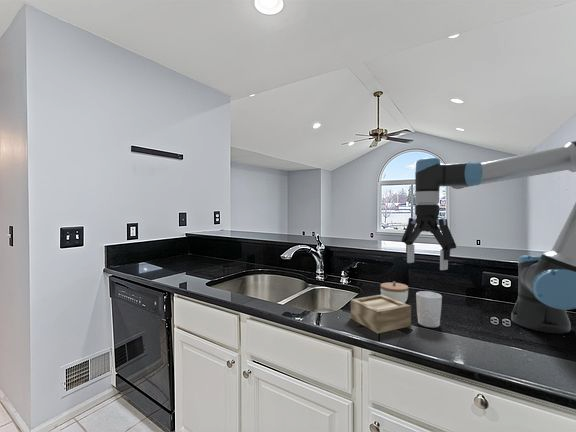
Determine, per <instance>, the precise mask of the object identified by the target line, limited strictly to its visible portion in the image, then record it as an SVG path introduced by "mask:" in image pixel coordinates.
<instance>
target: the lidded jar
mask: <svg viewBox="0 0 576 432" xmlns="http://www.w3.org/2000/svg"><path fill="white" fill-rule="evenodd" d="M379 286H380V295H384V296H387V297H389V298H392V299H395V300H397V301H400V302H402V303H405V304H406V302H407V300H408V299H409V298H408V297H409V286H408V285H407V284H405V283H401V282H396V281H392V282H383V283H380V285H379Z"/></svg>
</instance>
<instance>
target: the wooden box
mask: <svg viewBox="0 0 576 432" xmlns="http://www.w3.org/2000/svg"><path fill="white" fill-rule="evenodd" d="M350 319H351V320H353V321H355V322H357V324H360V325H362V326H364V327H365V328H367V329H369V330H371V331H372V332H375V334H382V333H386V332H389V331H395V330H399V329H403V328H408V327H411V326H412V305H410V304H407V303H406V302H405V303H402V302H400V301H397V300H395V299H392V298H389V297H387V296H384V295H381V294H377V295H369V296H364V297H358V298H351V299H350Z"/></svg>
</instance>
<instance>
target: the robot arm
mask: <svg viewBox="0 0 576 432" xmlns="http://www.w3.org/2000/svg"><path fill="white" fill-rule="evenodd" d="M564 171H569V172H571V173H576V140H575V141H574V140H573V141H569V142H567V143H566V144H565V145H564V146H561V147H556V148H550V149H546V150H540V151H535V152H531V153H524V154H520V155H514V156H510V157H504V158H500V159H495V160H490V161H485V162H480V161H478V162H477V161H474V162H473V161H472V162H471V161H468V162H457V163H456V162H455V163H441V160H440V158H438V157H437V158H436V157H425V158H424V157H423V158H420V159H418V160H417V161H416V162H415V172H414V173H415V175H414V177H415V178H414V179H415V180H414V181H415V182H414V183H415V187H414V188H415V190H414V192H415V194H414V196H415V197H414V203H415V205H414V208H415V209H414V215H415V217H409V218H408V222H407V226H406V228H405V231H404V233H403V235H402V238H401V242H402V243H404V244H405V247H406V248H405V253H406V263H407V264H412V263H415V244H414V242H415V241H416V240H417V238H418V237H419V236H420V234H421V233H422V232H426V233H427V232H430V233H431V234H432V236H434V238H435V240H436V241H437V242H438V244H439V245H440V247H441V249H440V251H439V270H440V271H446V270H449V260H450V259H451V250H453V249H456V248H457V244H456V242H455V240H454V237H453V234H452V233H451V231H450V228H449V225H448V219H447V218H439V215H440V205H439V203H440V187H451V188H452V189H455V190H458V189H459V190H460V189H464V188H468V187H474V186H479V185H485V184H491V183H497V182H503V181H508V180H509V181H510V180H514V179H521V178H526V177H532V176H540V175H544V174H551V173H556V172H557V173H558V172H564ZM517 266H518V275H517V277H518V278H517V279H518V280H517V281H518V283H517V284H518V285H517V286H518V287H517V288H518V289H517V291H518V292H517V300H516V301H515V305H514V307H513V309H512V311H511V322H513V323H514V324H516V325H517V326H521V327H523V328H526V329H530V330H533V331H537V332H541V333H546V334H547V333H549V334H567V333H571V329H572V328H571V327H572V324H571V321H570V318H569V316H568V314H567V310H574V309H576V202H575V203H574V205H573V207H572V209H571V211H570V213H569V215H568V217H567V219H566V221H565V222H564V225H563V226H562V229H561V230H560V232H559V235H558V236H557V238H556V241H555V243H554V244H553V246H552V249H550V250H548V251H546V252H543V253H542V254H541V255H540V256H539V255H520V256H519V258H518V263H517Z"/></svg>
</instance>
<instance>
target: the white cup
mask: <svg viewBox="0 0 576 432" xmlns="http://www.w3.org/2000/svg"><path fill="white" fill-rule="evenodd" d="M442 300H443V296H442V295H441V294H440V293H437V292H434V291H428V290H427V291H425V290H424V291H423V290H422V291H421V290H420V291H417V292H416V293H415V301H416V302H415V303H416V315H417V323H418V324H419V325H421V326H423V327H426V328H439V327H440V325H441V315H442V314H441V313H442V303H443V301H442Z"/></svg>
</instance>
